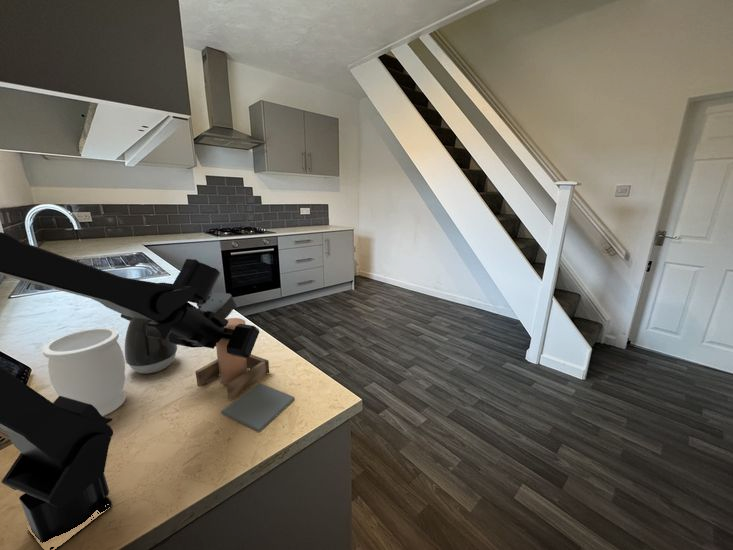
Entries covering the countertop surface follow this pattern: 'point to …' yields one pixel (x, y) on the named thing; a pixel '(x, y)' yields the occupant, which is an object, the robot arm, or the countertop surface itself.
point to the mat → (258, 406)
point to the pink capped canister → (230, 357)
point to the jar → (88, 368)
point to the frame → (241, 383)
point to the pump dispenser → (146, 348)
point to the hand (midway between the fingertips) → (235, 346)
